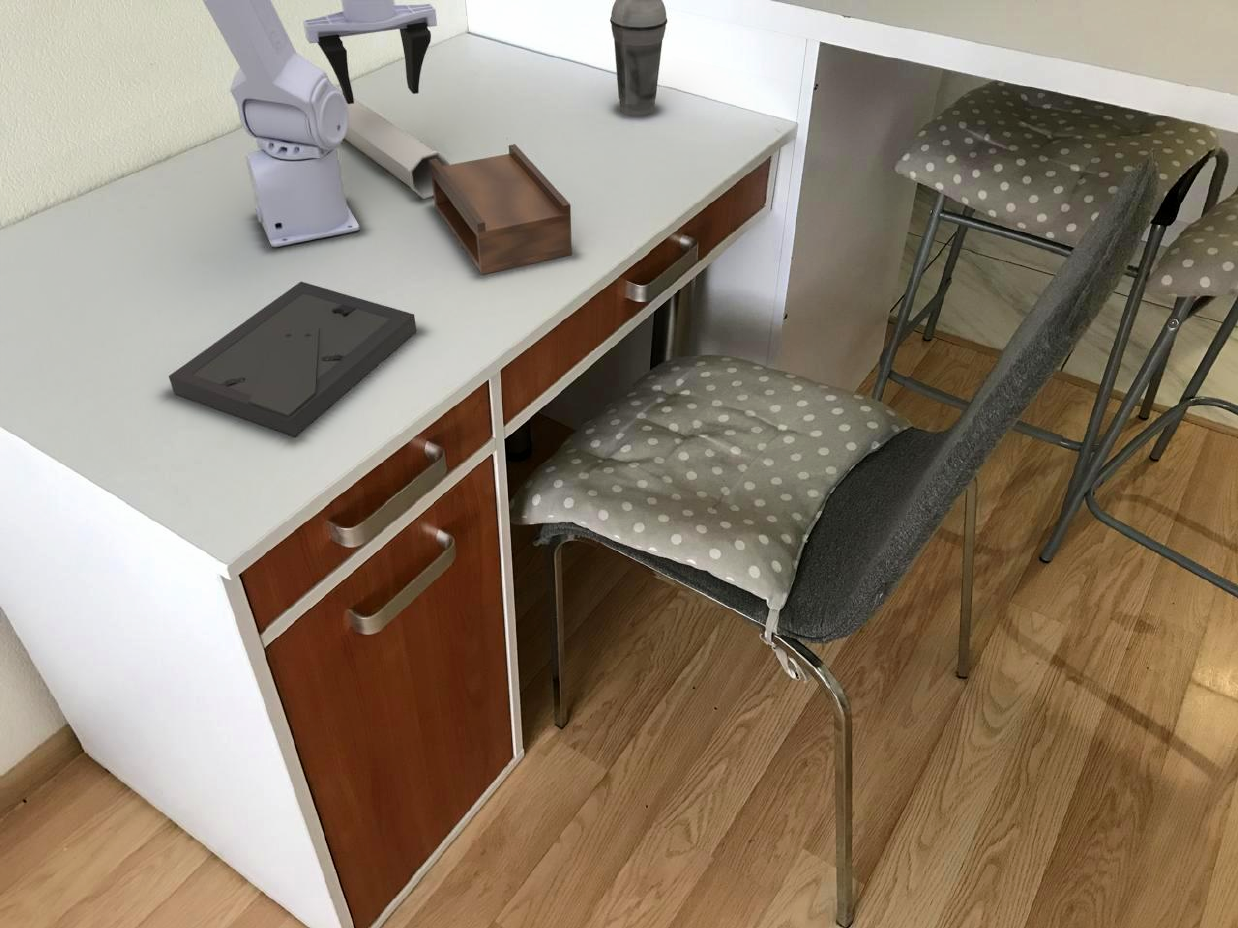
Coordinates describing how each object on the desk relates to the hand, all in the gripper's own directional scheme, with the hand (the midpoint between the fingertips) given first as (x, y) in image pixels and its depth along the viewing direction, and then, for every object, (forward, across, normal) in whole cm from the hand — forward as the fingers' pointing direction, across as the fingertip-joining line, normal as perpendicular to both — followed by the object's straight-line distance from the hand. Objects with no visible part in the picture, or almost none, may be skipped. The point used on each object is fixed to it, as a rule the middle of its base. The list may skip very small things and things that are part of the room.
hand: (381, 95), depth 123 cm
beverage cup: (+8, -34, -2) cm, 35 cm away
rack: (+8, -6, +22) cm, 24 cm away
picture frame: (+8, +19, +38) cm, 43 cm away
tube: (+8, +1, -1) cm, 8 cm away
